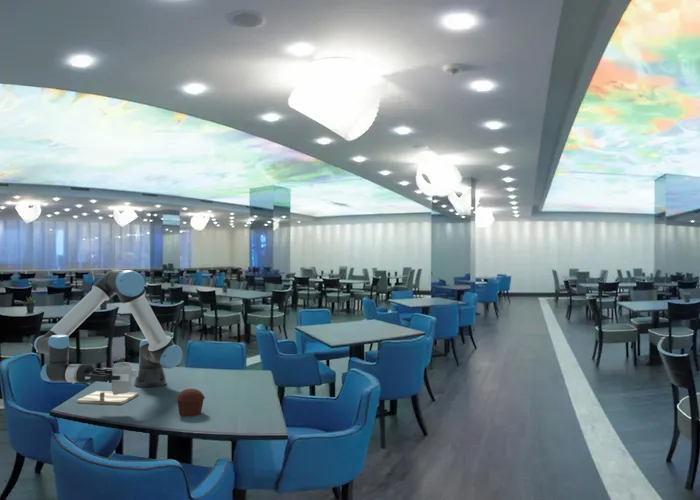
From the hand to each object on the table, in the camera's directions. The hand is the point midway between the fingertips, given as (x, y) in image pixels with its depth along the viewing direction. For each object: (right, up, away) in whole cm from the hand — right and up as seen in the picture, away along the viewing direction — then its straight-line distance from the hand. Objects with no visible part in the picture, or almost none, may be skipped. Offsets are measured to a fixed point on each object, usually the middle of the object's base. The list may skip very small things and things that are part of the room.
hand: (133, 375), depth 214 cm
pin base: (-19, -15, +19) cm, 31 cm away
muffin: (+23, -16, +1) cm, 29 cm away
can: (-5, -7, 0) cm, 9 cm away
